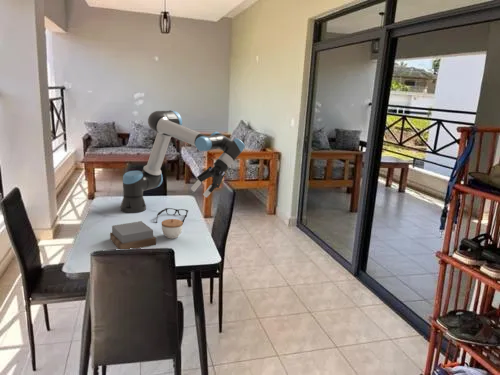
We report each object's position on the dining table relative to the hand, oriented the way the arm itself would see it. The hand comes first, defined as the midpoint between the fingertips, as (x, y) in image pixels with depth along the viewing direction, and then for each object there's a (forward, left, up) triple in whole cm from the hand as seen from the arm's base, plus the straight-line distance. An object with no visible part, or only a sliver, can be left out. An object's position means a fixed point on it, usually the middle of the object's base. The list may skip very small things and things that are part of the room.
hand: (198, 193), depth 205 cm
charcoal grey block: (-3, -34, -18) cm, 39 cm away
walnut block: (-3, -34, -22) cm, 41 cm away
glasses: (-26, -2, -22) cm, 34 cm away
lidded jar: (-1, -14, -22) cm, 26 cm away
